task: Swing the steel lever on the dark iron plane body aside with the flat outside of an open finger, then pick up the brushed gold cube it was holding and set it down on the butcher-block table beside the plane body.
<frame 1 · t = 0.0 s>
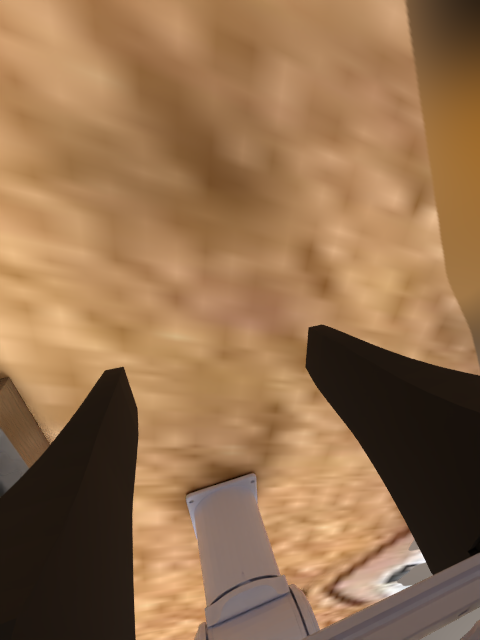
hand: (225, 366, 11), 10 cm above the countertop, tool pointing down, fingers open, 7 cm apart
plane body: (18, 471, 23), on the countertop
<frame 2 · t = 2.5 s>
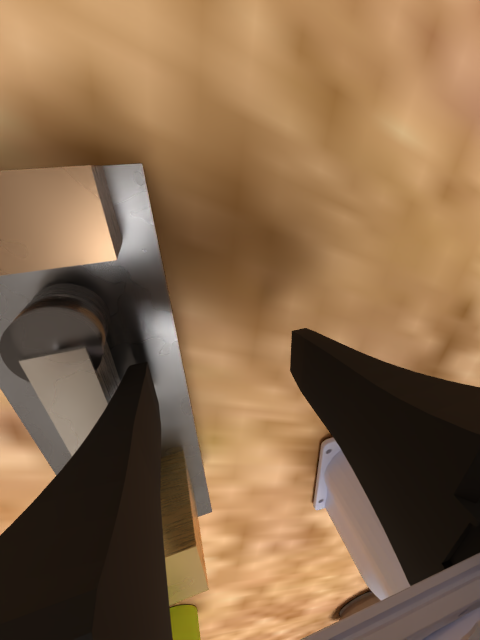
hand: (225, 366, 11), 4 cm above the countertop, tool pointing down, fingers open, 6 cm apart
steel lever: (98, 414, 9), point 4 cm above the countertop, hinge at 0.1°, touching gripper
brushed gold cube: (144, 489, 14), point 3 cm above the countertop, touching plane body
coffee pot: (381, 585, 47), on the countertop
plane body: (121, 374, 14), on the countertop
soap dispenser: (163, 619, 29), on the countertop
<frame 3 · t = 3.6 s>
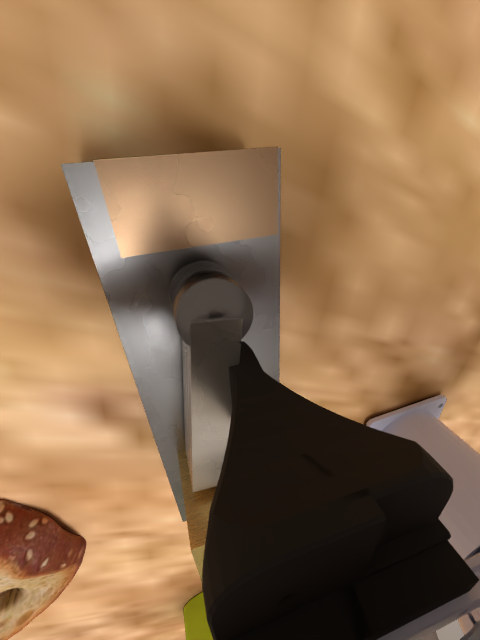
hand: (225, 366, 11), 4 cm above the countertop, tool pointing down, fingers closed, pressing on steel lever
steel lever: (207, 386, 10), point 4 cm above the countertop, hinge at 8.3°, touching gripper
brushed gold cube: (226, 462, 15), point 3 cm above the countertop, touching plane body
plane body: (203, 354, 15), on the countertop
soap dispenser: (205, 599, 30), on the countertop
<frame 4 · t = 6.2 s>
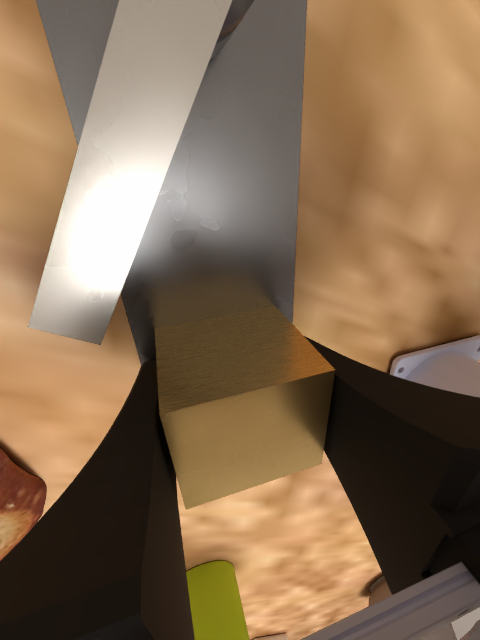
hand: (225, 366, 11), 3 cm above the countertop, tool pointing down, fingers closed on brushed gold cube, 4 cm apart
steel lever: (132, 148, 6), point 4 cm above the countertop, hinge at 31.9°
brushed gold cube: (222, 360, 11), point 3 cm above the countertop, touching gripper, plane body
coffee pot: (413, 559, 45), on the countertop
plane body: (194, 217, 11), on the countertop
soap dispenser: (197, 578, 26), on the countertop
when the fingers open (2 cm above the countertop, at t = 9.9 s): brushed gold cube stays where it is, on the countertop.
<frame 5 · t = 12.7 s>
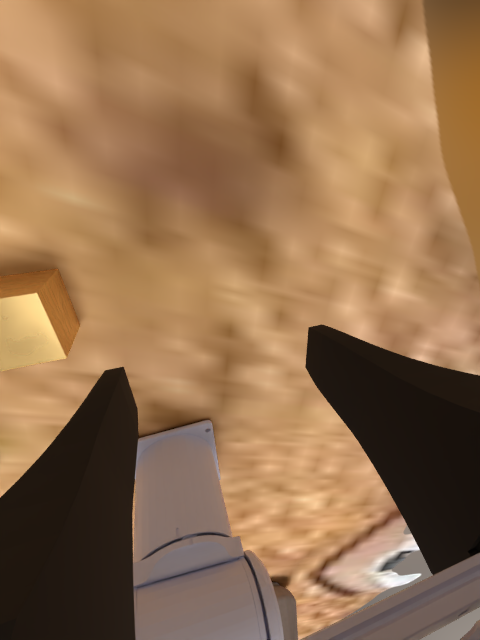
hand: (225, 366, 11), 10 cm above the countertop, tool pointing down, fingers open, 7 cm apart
brushed gold cube: (30, 304, 18), on the countertop
coffee pot: (279, 577, 51), on the countertop
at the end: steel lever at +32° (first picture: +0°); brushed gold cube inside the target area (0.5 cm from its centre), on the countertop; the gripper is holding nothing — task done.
